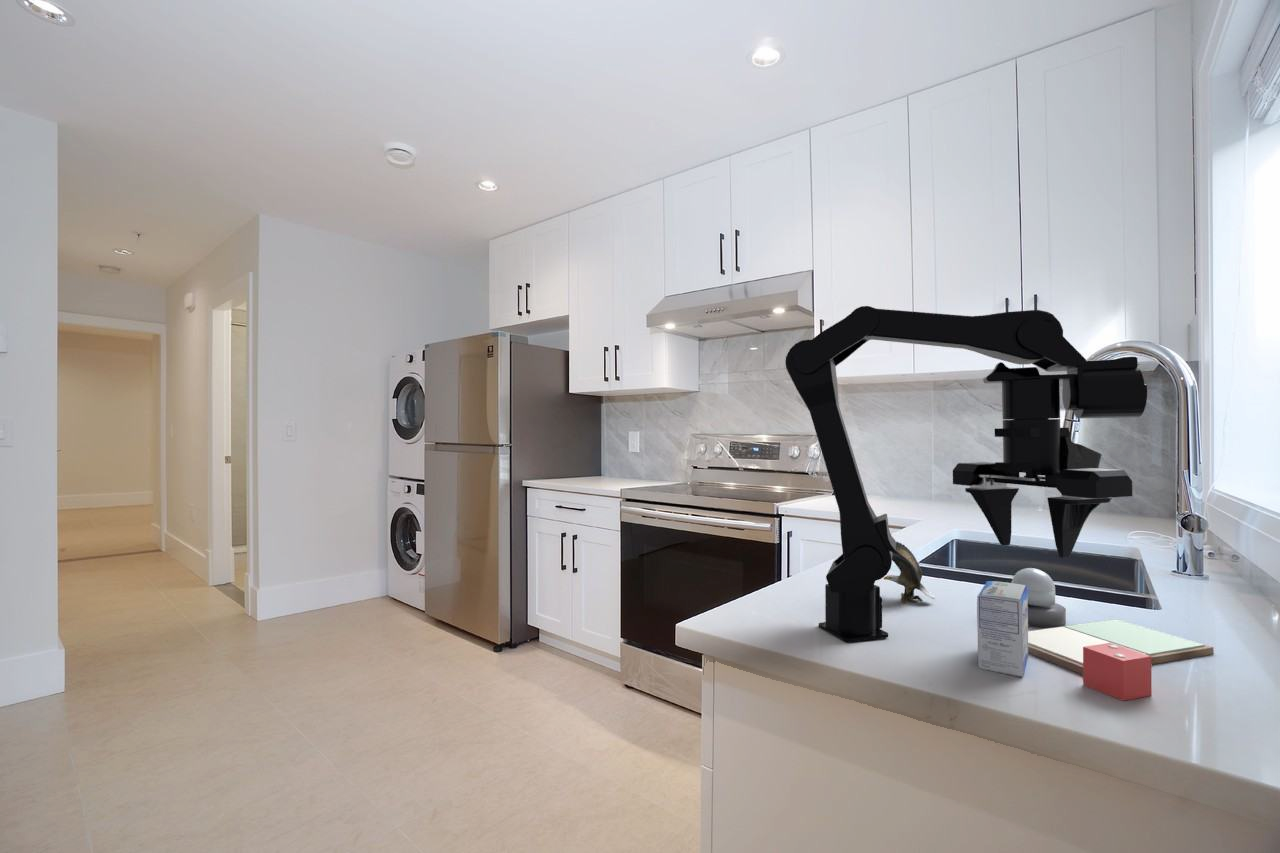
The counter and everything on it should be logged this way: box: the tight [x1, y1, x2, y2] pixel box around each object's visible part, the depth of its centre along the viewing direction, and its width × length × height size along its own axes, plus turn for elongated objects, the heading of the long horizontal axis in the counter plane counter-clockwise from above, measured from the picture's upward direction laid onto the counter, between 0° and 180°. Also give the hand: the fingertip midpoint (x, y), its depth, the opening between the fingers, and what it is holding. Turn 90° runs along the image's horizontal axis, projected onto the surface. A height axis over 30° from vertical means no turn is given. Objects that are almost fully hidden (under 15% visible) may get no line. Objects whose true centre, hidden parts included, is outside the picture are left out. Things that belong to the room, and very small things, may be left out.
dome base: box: [1028, 602, 1067, 629], centre depth 85 cm, size 8×8×2 cm
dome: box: [1011, 567, 1056, 606], centre depth 85 cm, size 5×5×5 cm
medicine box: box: [976, 580, 1029, 678], centre depth 69 cm, size 8×4×9 cm, turn 143°
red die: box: [1082, 643, 1153, 701], centre depth 62 cm, size 4×4×4 cm
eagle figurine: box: [883, 541, 936, 604], centre depth 93 cm, size 8×7×9 cm
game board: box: [1028, 618, 1215, 675], centre depth 73 cm, size 21×11×1 cm, turn 107°
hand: (1033, 551), depth 70 cm, fingers open, 7 cm apart
